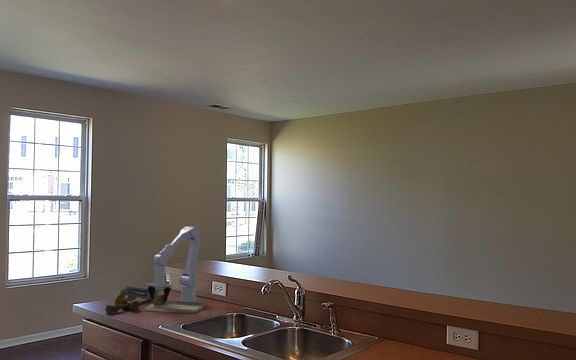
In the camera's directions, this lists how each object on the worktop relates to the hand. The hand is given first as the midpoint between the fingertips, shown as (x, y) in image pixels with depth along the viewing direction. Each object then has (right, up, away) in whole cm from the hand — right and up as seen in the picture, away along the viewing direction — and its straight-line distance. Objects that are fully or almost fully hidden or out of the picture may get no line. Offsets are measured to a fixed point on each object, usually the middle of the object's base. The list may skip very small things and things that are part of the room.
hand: (159, 300), depth 271 cm
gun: (-16, -4, +13) cm, 21 cm away
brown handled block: (0, -2, -2) cm, 3 cm away
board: (+9, -4, -4) cm, 11 cm away
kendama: (-16, -4, -9) cm, 19 cm away
